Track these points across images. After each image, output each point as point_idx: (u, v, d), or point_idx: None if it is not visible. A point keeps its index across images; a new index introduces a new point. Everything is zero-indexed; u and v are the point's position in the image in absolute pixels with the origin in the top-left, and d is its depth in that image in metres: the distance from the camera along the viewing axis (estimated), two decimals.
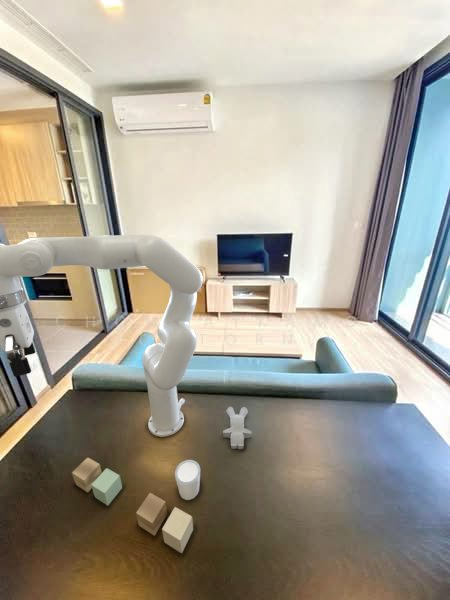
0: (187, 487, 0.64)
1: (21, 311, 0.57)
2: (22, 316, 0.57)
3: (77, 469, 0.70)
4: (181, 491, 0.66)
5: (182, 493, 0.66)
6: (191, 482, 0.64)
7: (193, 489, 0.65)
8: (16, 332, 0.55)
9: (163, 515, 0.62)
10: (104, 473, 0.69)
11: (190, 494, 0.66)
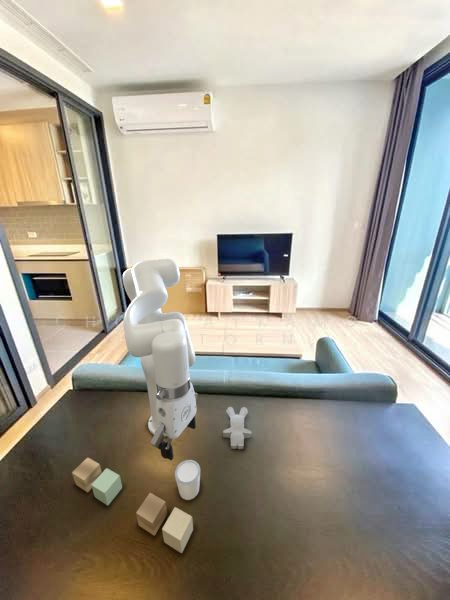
0: (187, 487, 0.64)
1: (180, 403, 0.55)
2: (178, 408, 0.55)
3: (77, 469, 0.70)
4: (181, 491, 0.66)
5: (182, 493, 0.66)
6: (191, 482, 0.64)
7: (193, 489, 0.65)
8: (167, 424, 0.54)
9: (163, 515, 0.62)
10: (104, 473, 0.69)
11: (190, 494, 0.66)
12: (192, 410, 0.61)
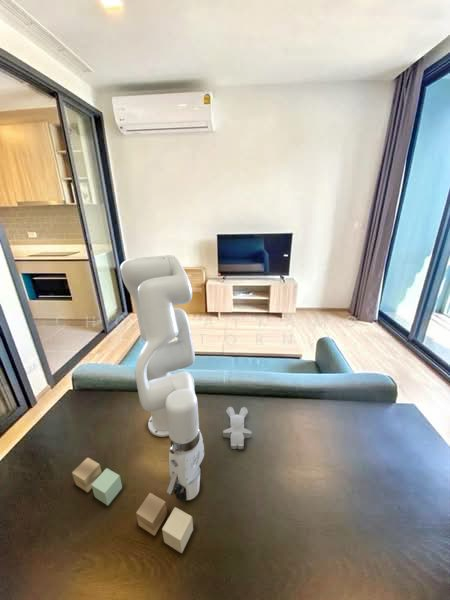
0: (187, 487, 0.64)
1: (190, 454, 0.61)
2: (189, 459, 0.61)
3: (77, 469, 0.70)
4: None
5: None
6: (191, 482, 0.64)
7: (193, 489, 0.65)
8: (179, 474, 0.60)
9: (163, 515, 0.62)
10: (104, 473, 0.69)
11: (190, 494, 0.66)
12: (200, 455, 0.66)
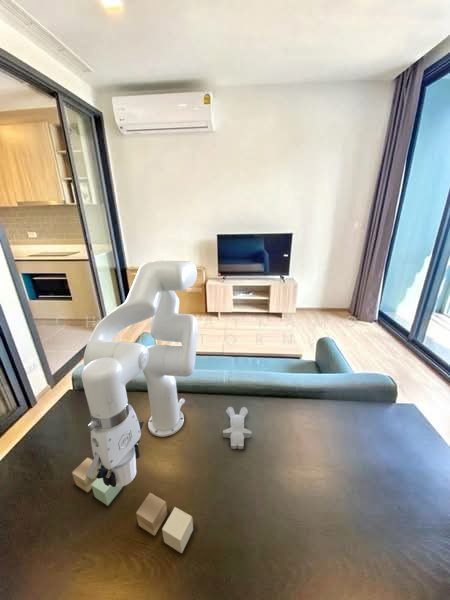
0: (116, 471, 0.56)
1: (115, 432, 0.53)
2: (114, 438, 0.53)
3: (77, 469, 0.70)
4: None
5: None
6: (121, 466, 0.56)
7: (125, 474, 0.58)
8: (101, 454, 0.52)
9: (163, 515, 0.62)
10: None
11: (122, 480, 0.58)
12: (134, 436, 0.59)
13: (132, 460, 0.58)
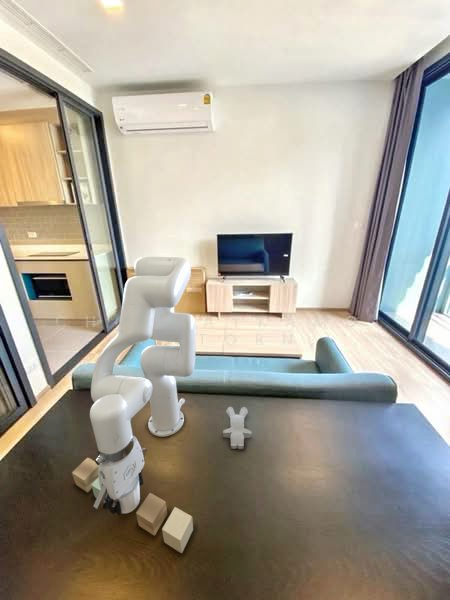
0: (121, 500, 0.60)
1: (121, 464, 0.56)
2: (119, 470, 0.56)
3: (77, 469, 0.70)
4: None
5: None
6: (126, 495, 0.60)
7: (129, 502, 0.61)
8: (107, 486, 0.55)
9: (163, 515, 0.62)
10: None
11: (126, 507, 0.61)
12: (138, 466, 0.62)
13: (136, 489, 0.62)
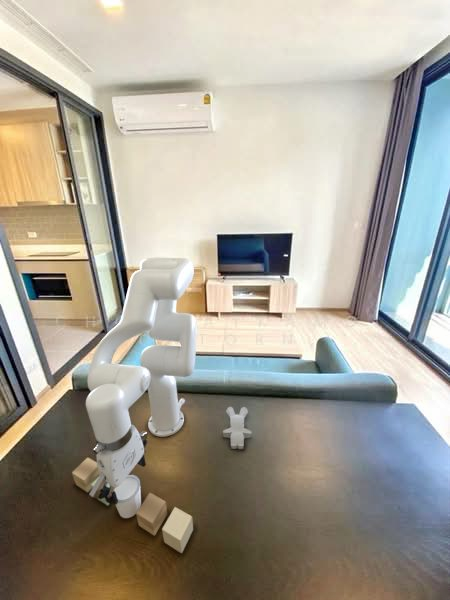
0: (123, 505, 0.60)
1: (120, 453, 0.56)
2: (118, 459, 0.56)
3: (77, 469, 0.70)
4: (118, 509, 0.62)
5: (119, 511, 0.62)
6: (127, 500, 0.60)
7: (130, 507, 0.62)
8: (107, 475, 0.55)
9: (163, 515, 0.62)
10: None
11: (128, 512, 0.62)
12: (138, 454, 0.62)
13: (137, 493, 0.62)
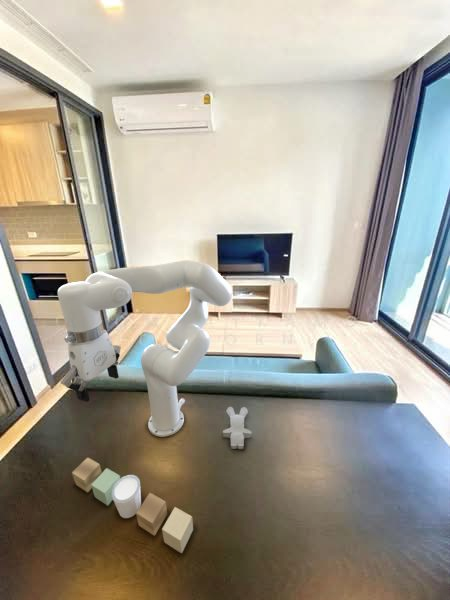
0: (123, 505, 0.60)
1: (90, 347, 0.60)
2: (89, 352, 0.60)
3: (77, 469, 0.70)
4: (118, 509, 0.62)
5: (119, 511, 0.62)
6: (127, 500, 0.60)
7: (130, 507, 0.62)
8: (78, 366, 0.59)
9: (163, 515, 0.62)
10: (104, 473, 0.69)
11: (128, 512, 0.62)
12: (109, 358, 0.66)
13: (137, 493, 0.62)
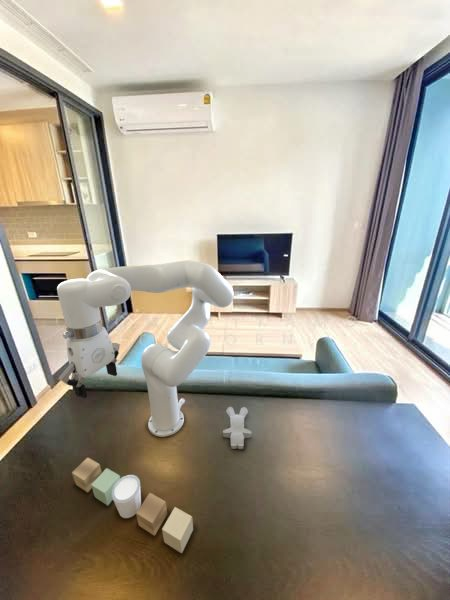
0: (123, 505, 0.60)
1: (89, 344, 0.61)
2: (87, 349, 0.60)
3: (77, 469, 0.70)
4: (118, 509, 0.62)
5: (119, 511, 0.62)
6: (127, 500, 0.60)
7: (130, 507, 0.62)
8: (76, 362, 0.59)
9: (163, 515, 0.62)
10: (104, 473, 0.69)
11: (128, 512, 0.62)
12: (108, 355, 0.66)
13: (137, 493, 0.62)
